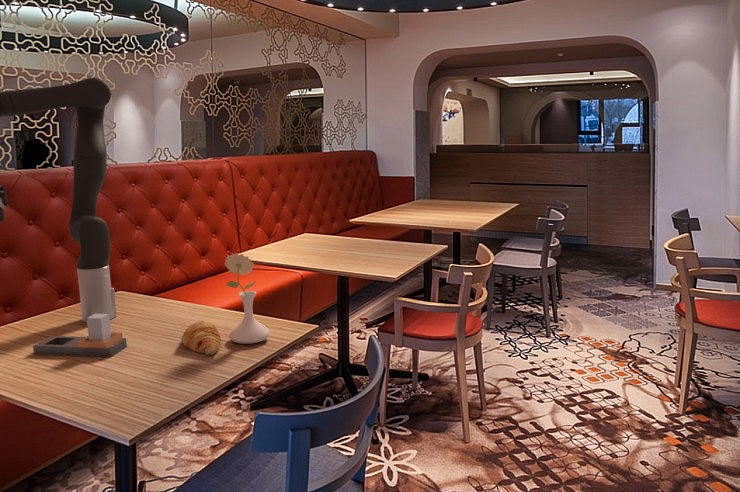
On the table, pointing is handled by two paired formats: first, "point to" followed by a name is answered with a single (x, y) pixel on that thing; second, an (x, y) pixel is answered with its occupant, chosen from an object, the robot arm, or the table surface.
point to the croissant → (202, 338)
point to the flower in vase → (245, 304)
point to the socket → (80, 346)
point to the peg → (99, 327)
